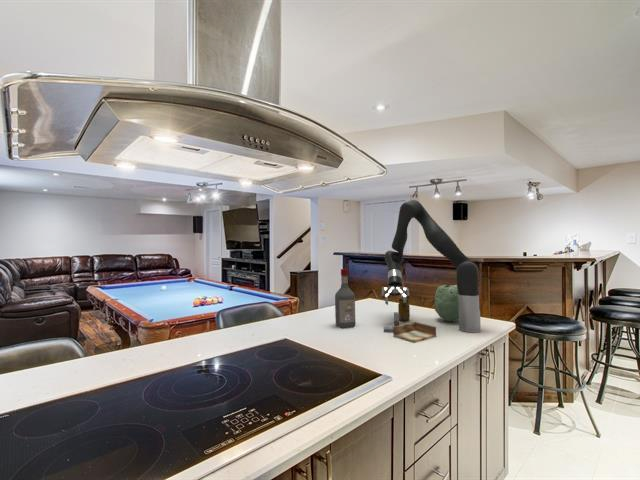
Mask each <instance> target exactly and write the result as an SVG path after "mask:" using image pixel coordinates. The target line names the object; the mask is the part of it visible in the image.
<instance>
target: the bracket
mask: <svg viewBox="0 0 640 480" xmlns="http://www.w3.org/2000/svg"><path fill="white" fill-rule="evenodd" d="M399 325H400V321H399V312H398V311H394V312H393V326H392V327H391V326H389V327H388V326H383V333H392V334H393V327H395V326H399Z"/></svg>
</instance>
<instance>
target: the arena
mask: <svg viewBox="0 0 640 480" xmlns="http://www.w3.org/2000/svg"><path fill="white" fill-rule="evenodd" d="M392 334H393V333H392ZM436 337H437V334H436V335H432V334H429V333H425V332H421V331H417V330H414V331H410V332H406V333H402V334H397V335H394V334H393V338H397V339H400V340H402V341H403V340H404V341H407V342H411V343H414V344H415V343H418V342H423V341H425V340H426V341H427V340H429V339H434V338H436Z"/></svg>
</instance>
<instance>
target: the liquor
mask: <svg viewBox="0 0 640 480" xmlns="http://www.w3.org/2000/svg"><path fill="white" fill-rule="evenodd" d="M348 275H349V269H348V268H342V269H341V268H340V276H341V277H340V278H341V279H340V281H341V282H340V283H341V284H340V288H339V289H338V290H337V292H335V295H334V308H335V312H334V313H335V315H334V317H335V318H334V319H335V326H336V327H338V328H340V329H349V328H354V327H355V326H356V296H355V293H354V292H353V291H352V290H351V288H350V287H349V281H348V280H349V276H348Z"/></svg>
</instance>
